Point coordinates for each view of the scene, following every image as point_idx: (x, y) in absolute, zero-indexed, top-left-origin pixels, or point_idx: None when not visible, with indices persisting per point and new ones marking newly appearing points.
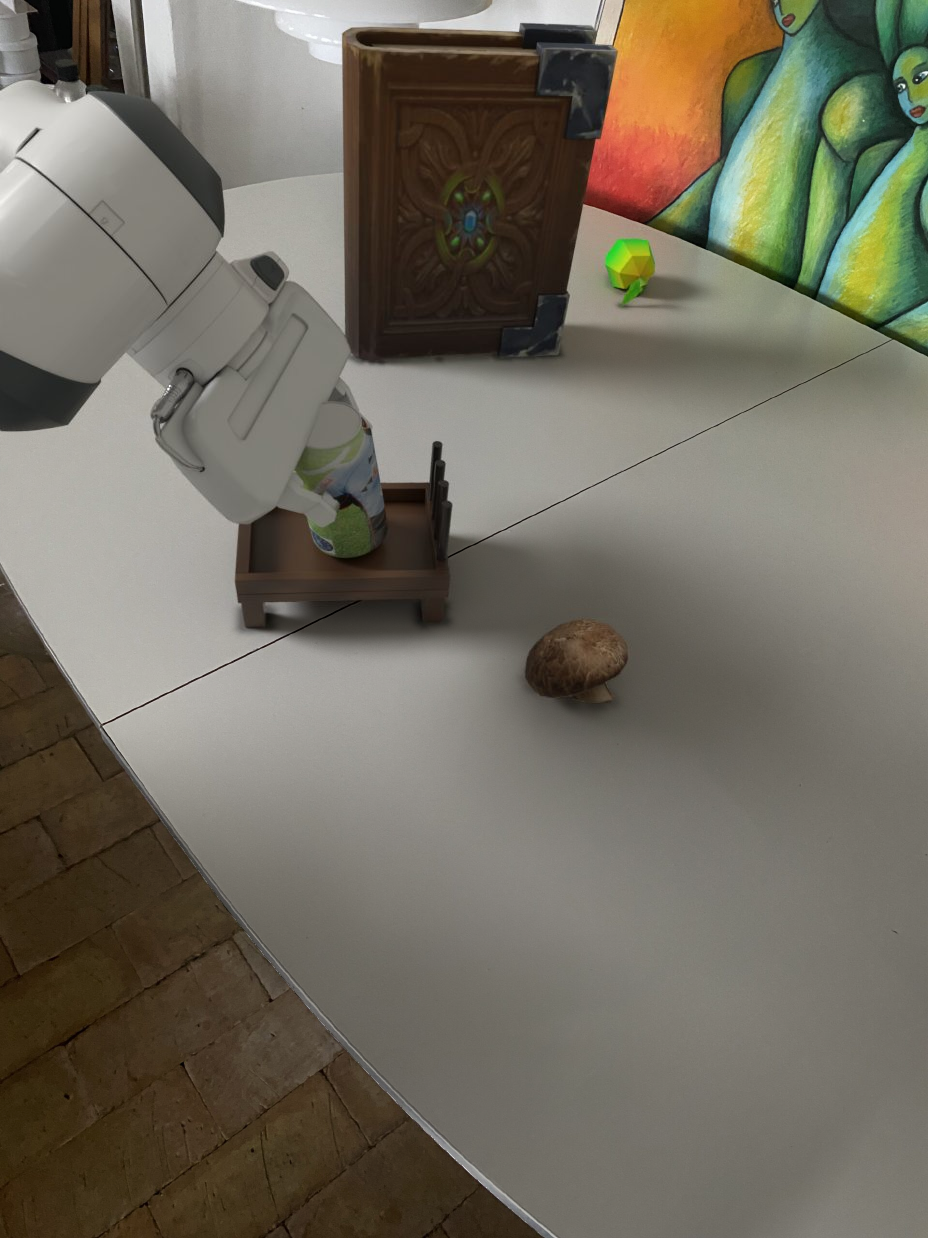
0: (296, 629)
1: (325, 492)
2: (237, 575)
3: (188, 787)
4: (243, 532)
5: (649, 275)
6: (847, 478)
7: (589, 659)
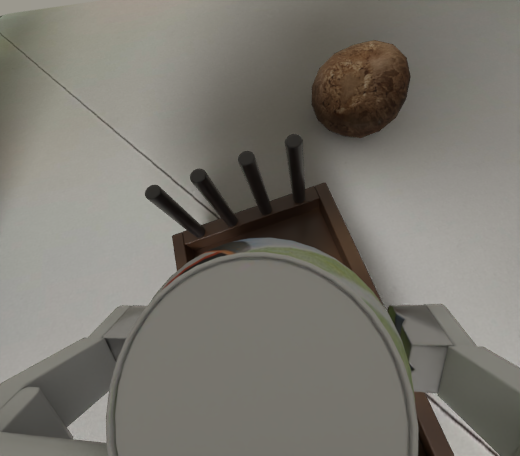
0: None
1: (419, 341)
2: None
3: None
4: None
5: None
6: (116, 23)
7: (390, 49)
